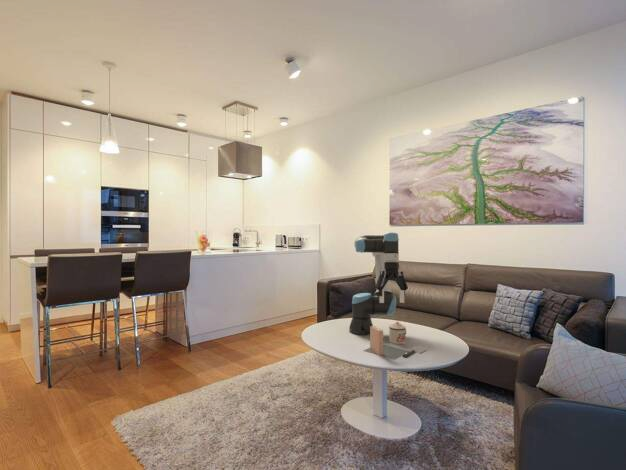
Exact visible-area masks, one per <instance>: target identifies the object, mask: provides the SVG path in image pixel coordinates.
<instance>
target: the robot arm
mask: <svg viewBox="0 0 626 470" xmlns="http://www.w3.org/2000/svg"><path fill="white" fill-rule="evenodd" d="M399 240H400V239H399V234H398V233H396V232H385V233H384V234H383V235H379V234H378V235H375V234H374V235H371V234H370V235H368V234H367V235H362V236H359V237H357V238H355V240H354V243H353V245H354V248H355V252H357V253H363V254H364V253H371V254H372V256H373V257H374V263H375V264H374V265H375V267H374V268H375V269H374V270H375V287H374V288H375V289H376V291H375V292H374V293H373V295H372V293H370V292H362V293H361V292H360V293H356V294H354V295H353V296H352V298H351V299H352V301H351V305H352V310H351V311H352V312H351V313H352V314H351V317H352V319H351V320H350V324H349V327H348V331H349V332H350V333H351V334H353V335H359V336H360V335H361V336H363V335H364V336H366V335H367V336H368V335H370V326H374V324H373V320H372V316H394V314H395V312H396V307H397V296H395V295H394V292H393V291H391V282H390V281H391V280H393V281H395V283H396V284H397V286H398V287H399V303H401V304H402V303H403V304H405V297H406V291H407V290H408V289H409V286H408V284H407V282H406V279H405V276H404V271H399V269H400V264H399V263H400V262H399V261H400V259H399V258H400V257H399V256H400V255H399Z"/></svg>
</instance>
